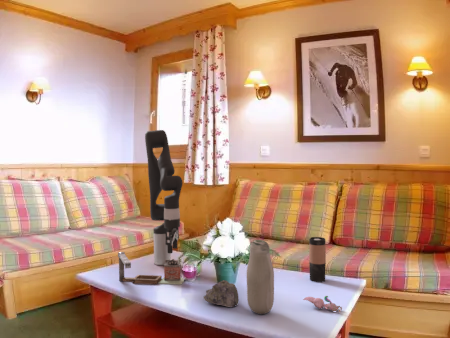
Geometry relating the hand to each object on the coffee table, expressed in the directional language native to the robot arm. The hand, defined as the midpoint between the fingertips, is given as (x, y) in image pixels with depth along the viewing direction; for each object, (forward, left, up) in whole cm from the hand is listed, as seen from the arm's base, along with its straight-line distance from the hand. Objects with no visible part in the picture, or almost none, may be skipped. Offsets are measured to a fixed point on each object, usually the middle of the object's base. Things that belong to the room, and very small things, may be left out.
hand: (172, 250), depth 196 cm
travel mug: (-11, +69, -15) cm, 71 cm away
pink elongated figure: (+26, +68, -15) cm, 75 cm away
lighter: (0, 0, -14) cm, 14 cm away
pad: (0, 0, -15) cm, 15 cm away
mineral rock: (+25, +29, -15) cm, 41 cm away
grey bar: (+10, -21, -4) cm, 23 cm away
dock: (+2, -16, -15) cm, 22 cm away
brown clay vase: (+32, +45, -15) cm, 57 cm away
